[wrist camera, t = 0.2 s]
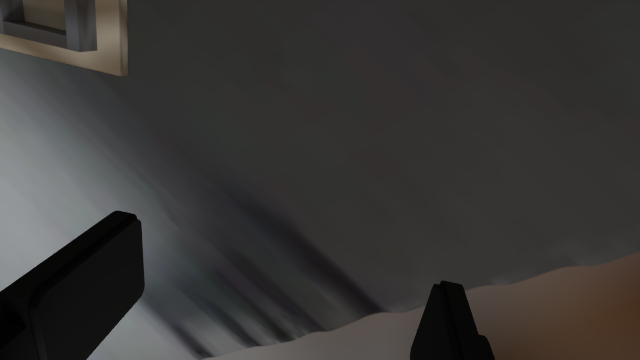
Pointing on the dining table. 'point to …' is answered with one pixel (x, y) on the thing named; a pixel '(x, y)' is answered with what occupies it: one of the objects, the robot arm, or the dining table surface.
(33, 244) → the dining table surface
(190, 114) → the dining table surface
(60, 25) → the socket board
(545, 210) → the dining table surface
